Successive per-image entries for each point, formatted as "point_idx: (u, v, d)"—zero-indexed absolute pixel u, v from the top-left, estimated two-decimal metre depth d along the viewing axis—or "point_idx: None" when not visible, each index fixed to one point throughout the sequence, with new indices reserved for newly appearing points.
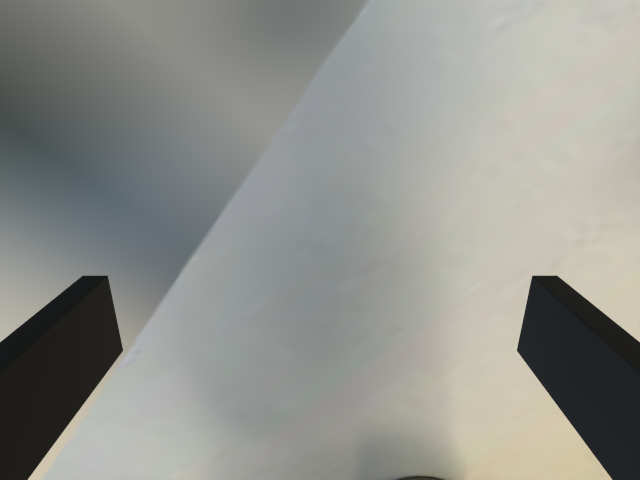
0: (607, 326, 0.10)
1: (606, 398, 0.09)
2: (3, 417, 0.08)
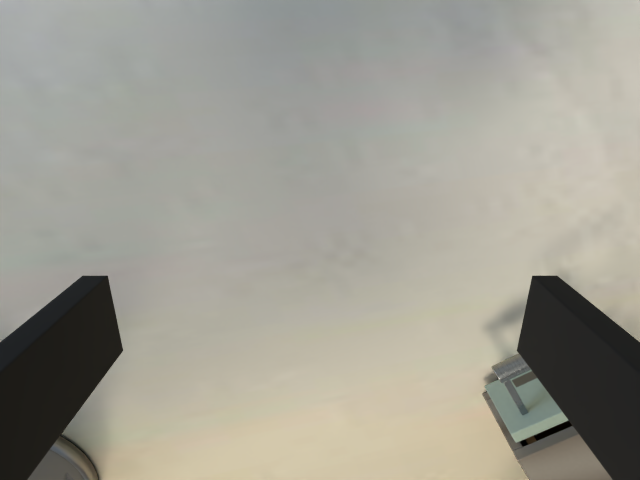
0: (607, 326, 0.10)
1: (606, 398, 0.09)
2: (3, 417, 0.08)
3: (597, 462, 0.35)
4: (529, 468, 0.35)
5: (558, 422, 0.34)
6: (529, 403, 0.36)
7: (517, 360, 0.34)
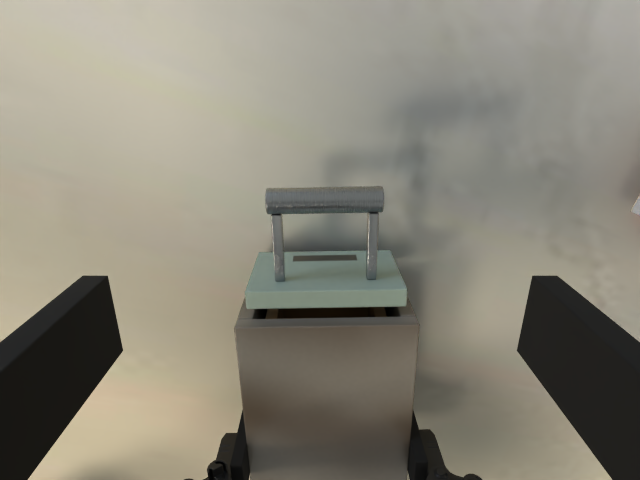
0: (607, 326, 0.10)
1: (606, 398, 0.09)
2: (3, 417, 0.08)
3: (333, 380, 0.25)
4: (244, 348, 0.24)
5: (313, 303, 0.24)
6: (294, 275, 0.26)
7: (302, 189, 0.23)
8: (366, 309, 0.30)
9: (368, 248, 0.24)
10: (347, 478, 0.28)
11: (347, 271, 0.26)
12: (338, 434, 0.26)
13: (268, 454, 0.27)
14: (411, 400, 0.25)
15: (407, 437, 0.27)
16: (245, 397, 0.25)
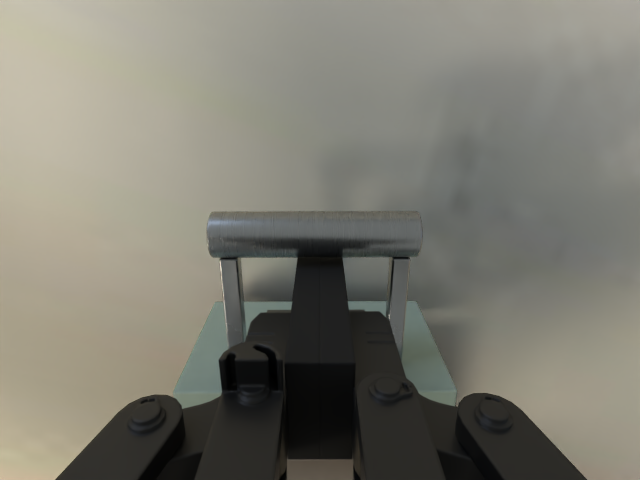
0: (334, 281, 0.12)
1: None
2: None
3: None
4: None
5: None
6: None
7: (274, 216, 0.13)
8: None
9: (389, 316, 0.14)
10: None
11: None
12: None
13: None
14: None
15: None
16: None
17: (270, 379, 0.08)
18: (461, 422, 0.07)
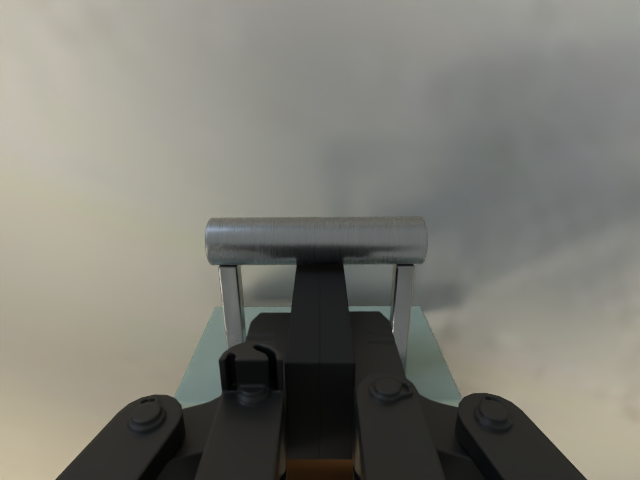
0: (334, 281, 0.12)
1: None
2: None
3: None
4: None
5: None
6: None
7: (274, 222, 0.12)
8: None
9: (393, 324, 0.14)
10: None
11: None
12: None
13: None
14: None
15: None
16: None
17: (270, 379, 0.08)
18: (461, 422, 0.07)
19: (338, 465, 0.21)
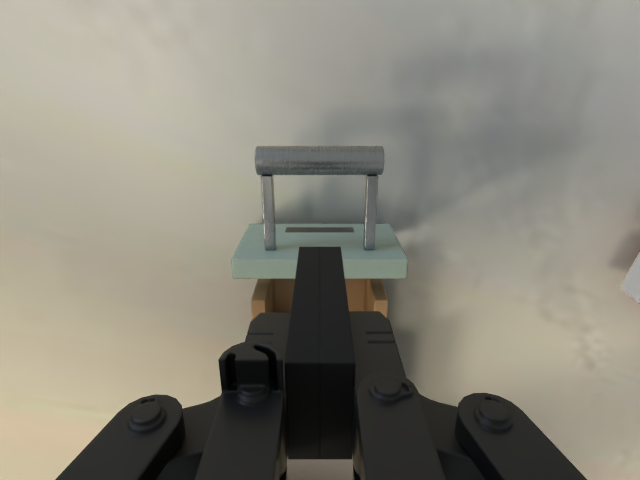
0: (334, 281, 0.12)
1: None
2: None
3: None
4: None
5: None
6: (285, 244, 0.24)
7: (295, 148, 0.21)
8: (363, 287, 0.28)
9: (366, 215, 0.22)
10: None
11: (343, 242, 0.24)
12: None
13: None
14: None
15: None
16: None
17: (270, 379, 0.08)
18: (461, 422, 0.07)
19: None
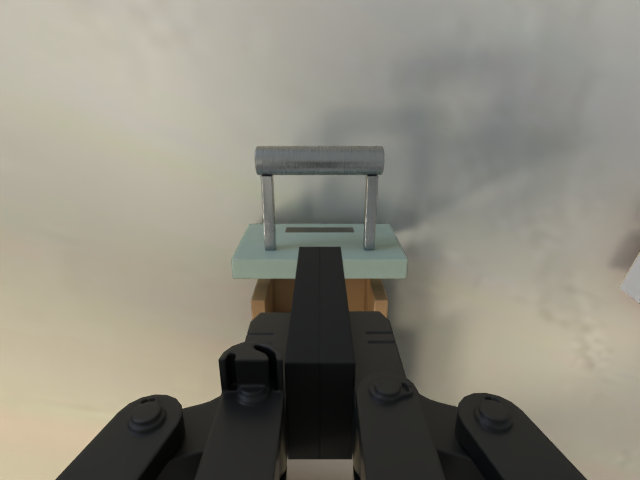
0: (334, 281, 0.12)
1: None
2: None
3: None
4: None
5: None
6: (285, 244, 0.24)
7: (295, 148, 0.21)
8: (363, 287, 0.28)
9: (366, 215, 0.22)
10: None
11: (343, 242, 0.24)
12: None
13: None
14: None
15: None
16: None
17: (270, 379, 0.08)
18: (461, 422, 0.07)
19: None
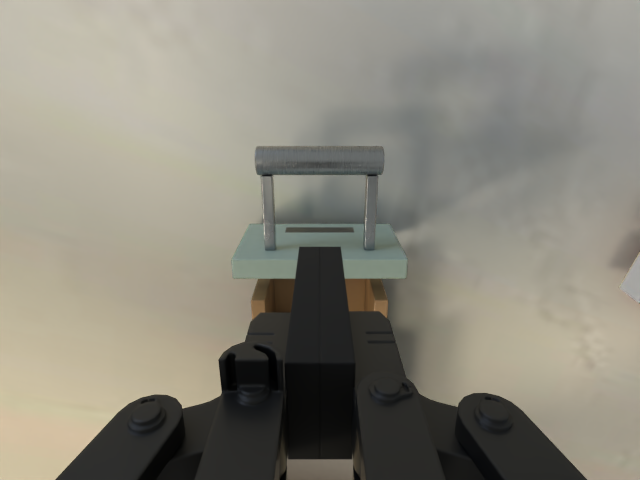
0: (334, 281, 0.12)
1: None
2: None
3: None
4: None
5: None
6: (285, 244, 0.24)
7: (295, 148, 0.21)
8: (363, 287, 0.28)
9: (366, 215, 0.22)
10: None
11: (343, 242, 0.24)
12: None
13: None
14: None
15: None
16: None
17: (270, 379, 0.08)
18: (461, 422, 0.07)
19: None
